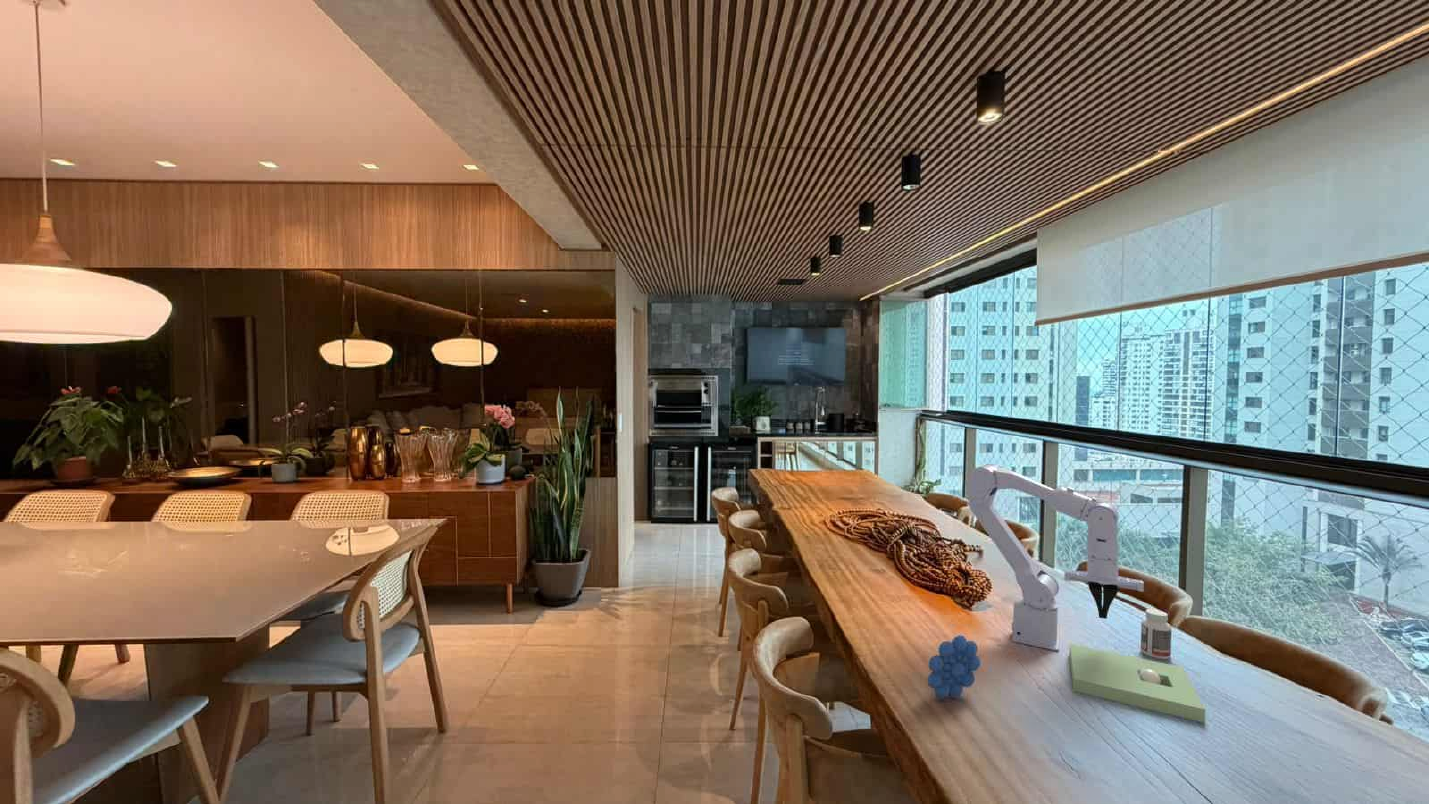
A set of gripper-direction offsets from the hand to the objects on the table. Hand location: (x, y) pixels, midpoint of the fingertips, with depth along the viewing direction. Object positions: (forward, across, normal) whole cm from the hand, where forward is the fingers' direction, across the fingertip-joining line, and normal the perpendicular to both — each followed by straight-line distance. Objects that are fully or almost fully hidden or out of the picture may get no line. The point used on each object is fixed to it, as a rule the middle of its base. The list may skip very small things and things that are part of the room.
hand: (1102, 616), depth 124 cm
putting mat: (+10, +4, -11) cm, 15 cm away
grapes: (+9, -26, -36) cm, 45 cm away
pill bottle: (+10, +10, +9) cm, 17 cm away
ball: (+8, +7, -10) cm, 15 cm away
